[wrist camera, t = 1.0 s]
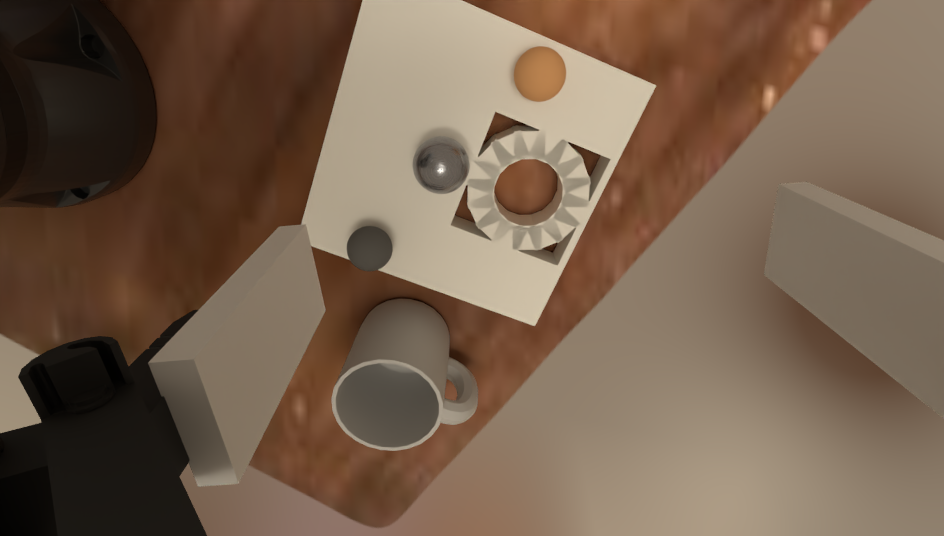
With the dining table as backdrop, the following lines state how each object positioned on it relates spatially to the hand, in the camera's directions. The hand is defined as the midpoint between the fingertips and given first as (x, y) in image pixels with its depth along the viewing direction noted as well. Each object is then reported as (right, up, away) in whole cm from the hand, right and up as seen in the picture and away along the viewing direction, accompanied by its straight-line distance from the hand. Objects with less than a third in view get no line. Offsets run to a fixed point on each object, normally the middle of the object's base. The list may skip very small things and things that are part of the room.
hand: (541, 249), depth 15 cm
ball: (-4, +6, +17) cm, 19 cm away
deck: (-2, +7, +21) cm, 23 cm away
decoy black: (-9, +1, +20) cm, 22 cm away
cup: (-6, -6, +27) cm, 29 cm away
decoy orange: (+2, +11, +15) cm, 19 cm away
